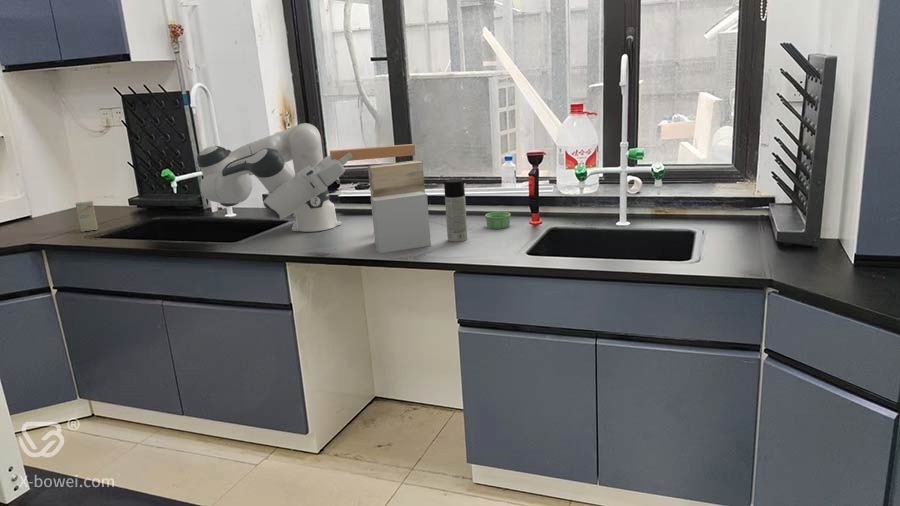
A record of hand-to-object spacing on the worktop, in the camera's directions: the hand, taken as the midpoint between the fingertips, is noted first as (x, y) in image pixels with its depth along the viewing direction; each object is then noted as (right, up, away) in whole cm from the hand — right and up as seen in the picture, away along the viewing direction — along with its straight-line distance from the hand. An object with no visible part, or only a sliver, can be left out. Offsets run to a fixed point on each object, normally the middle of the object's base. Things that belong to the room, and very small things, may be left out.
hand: (349, 153), depth 199 cm
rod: (+7, -1, +3) cm, 8 cm away
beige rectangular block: (+14, -26, +22) cm, 37 cm away
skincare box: (-120, -21, +73) cm, 142 cm away
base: (+15, -29, +13) cm, 35 cm away
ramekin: (+48, -21, +33) cm, 62 cm away
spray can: (+33, -26, +18) cm, 46 cm away
